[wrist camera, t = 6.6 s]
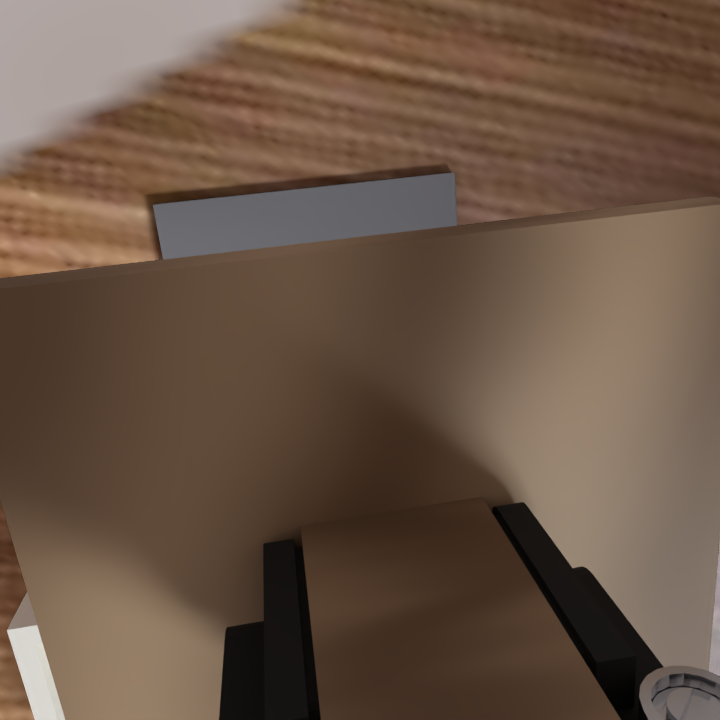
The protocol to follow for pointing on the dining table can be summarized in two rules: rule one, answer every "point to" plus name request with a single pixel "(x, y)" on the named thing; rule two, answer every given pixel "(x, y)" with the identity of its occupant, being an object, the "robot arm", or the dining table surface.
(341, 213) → the mat
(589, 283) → the lid
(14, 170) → the dining table surface
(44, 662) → the box
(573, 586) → the robot arm
